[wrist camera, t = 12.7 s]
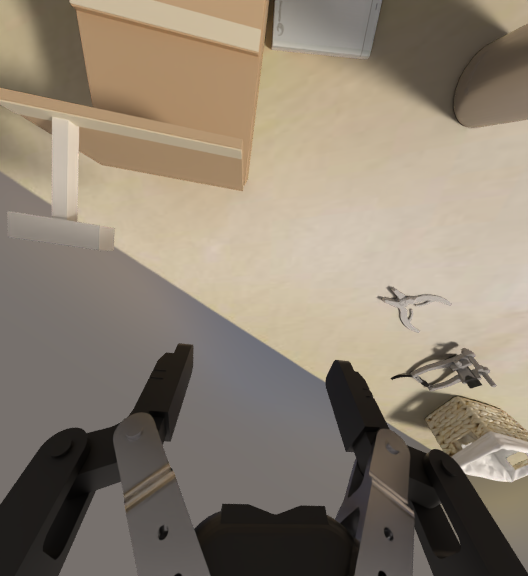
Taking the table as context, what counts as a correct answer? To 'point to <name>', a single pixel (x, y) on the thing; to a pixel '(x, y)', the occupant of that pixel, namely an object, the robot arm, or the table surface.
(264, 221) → the table surface
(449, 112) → the table surface
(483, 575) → the robot arm
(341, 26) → the hard drive
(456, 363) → the bike brake
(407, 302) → the pliers
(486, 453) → the storage basket
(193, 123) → the carton
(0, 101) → the right flap
